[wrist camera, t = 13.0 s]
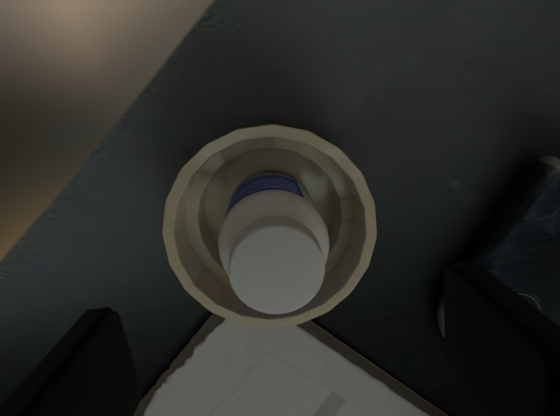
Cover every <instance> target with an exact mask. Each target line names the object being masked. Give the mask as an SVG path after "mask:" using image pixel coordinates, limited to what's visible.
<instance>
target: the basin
mask: <svg viewBox="0 0 560 416" xmlns="http://www.w3.org/2000/svg"><path fill="white" fill-rule="evenodd" d="M263 170H279V171H283V172H286V173H288V174H290V175H292V176H294V177H295V178H296V179H298V180H299V181H300V182H301V183H302V185H303V186H304V187H305V189H306V190H307V192H308V194H309V196H310V198H311V200H312V201H313V203H314V205H315V207H316V208H317V210H318V212H319V213H320V215H321V217H322V219H323V220H324V223H325V225H326V228H327V231H328V236H329V252H328V257H327V261H326V263H325V274H324V279H323V282H322V285H321V287H320V289H319V291H318V292H317V294H316V295H315V296H314V297H313V299H312V300H311V301H310V302H308V303H307V304H306V305H304V306H303V307H301V308H299V309H297V310H295V311H292V312H289V313H283V314H268V313H263V312H260V311H257V310H254V309H252V308H251V307H249V306H247V305H246V304H245V303H243V302H242V301H241V300H240V299H239V298H238V296H237V295H236V294H235V292H234V290H233V288H232V286H231V284H230V280H229V276H228V274H227V273H226V271H225V270H224V268H223V265H222V263H221V260H220V256H219V250H218V240H219V233H220V230H221V226H222V223H223V220H224V218H225V215H226V212H227V209H228V206H229V203H230V200H231V197H232V195H233V193H234V191H235V189H236V188H237V186H238V185H239V184H240V183H241V182H242V181H243V180H244V179H245V178H246V177H248V176H250V175H251V174H254V173H256V172H259V171H263ZM162 233H163V234H162V235H163V239H164V243H165V247H166V252H167V256H168V260H169V264H170V266H171V268H172V269H173V271H174V273H175V274H176V276H177V277H178V279H179V281H180V282H181V284H182V285H183V287H184V289H185V290H186V291H187V292H188V293H189V294H190V295H191V296H192V297H194V298H195V299H196V300H197V301H198V302H199V303H201V304H202V305H203V306H204V307H205V308H206V309H208V310H209V311H210V312H212V313H214V314H217V315H219V316H221V317H223V318H226V319H228V320H230V321H232V322H235V323H237V324H238V323H239V324H241V325H248V326H255V327H263V328H276V327H283V326H290V325H298V324H299V323H300V324H301V323H304V322H306V321H308V320H311V319H313V318H315V317H317V316H320V315H322V314H324V313H327V312H328V311H330V310H331V309H332V308H333V307H335V306H336V305H337V304H338V303H339V302H340V301H342V300H343V299H344V298H345V297H346V296H348V295H349V294H350V293H351V291H353V289H354V288H355V286H356V285H357V283H358V282H359V280H360V279H361V277H362V276H363V274H364V273H365V271H366V269H367V268H368V266H369V264H370V260H371V256H372V252H373V249H374V245H375V241H376V238H377V236H376V235H377V228H376V212H375V203H374V200H373V198H372V195H371V193H370V191H369V188H368V186H367V183H366V181H365V179H364V176H363V174H362V173H361V171H360V170H359V169H358V168H357V167H356V166H355V165H354V164H353V162H352V161H351V160H350V159H349V158H348V157H347V156H346V155H345V154H344V152H343V151H342V150H341V149H340V148H339V147H337V146H335V145H333V144H331V143H330V142H328V141H326V140H324V139H323V138H321V137H319V136H317V135H315V134H314V133H312V132H310V131H308V130H306V129H304V128H302V127H299V126H296V125H290V124H285V123H280V122H275V121H268V122H260V123H253V124H246V125H242V126H240V127H238V128H236V129H234V130H232V131H230V132H228V133H226V134H224V135H222V136H220V137H218V138H216V139H215V140H213V141H211V142H209V143H208V144H206V145H205V146H203V147H202V148H201V149H200V150H199V151H198V152H197V153H196V154H195V155H194V156H193V157H192V158H191V159H190V160H189V161H188V162H187V163H186V164H185V165H184V167H183V168H182V169H181V170H180V171H179V173H178V175H177V178H176V180H175V182H174V184H173V186H172V188H171V190H170V192H169V194H168V196H167V199H166V202H165V211H164V220H163V230H162Z"/></svg>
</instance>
